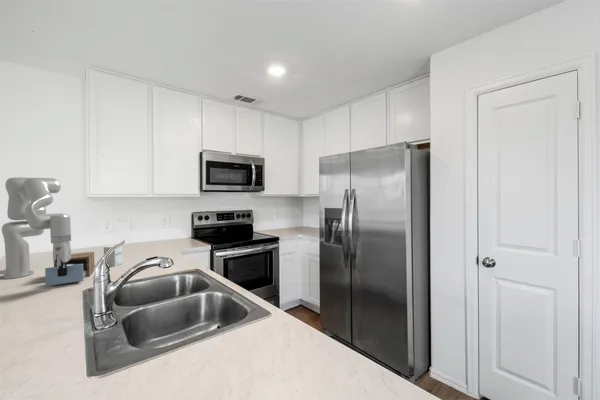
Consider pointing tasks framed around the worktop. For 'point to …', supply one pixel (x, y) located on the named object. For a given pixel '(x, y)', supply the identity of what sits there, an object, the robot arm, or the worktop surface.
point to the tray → (73, 275)
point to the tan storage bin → (83, 261)
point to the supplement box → (114, 256)
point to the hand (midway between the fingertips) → (62, 275)
